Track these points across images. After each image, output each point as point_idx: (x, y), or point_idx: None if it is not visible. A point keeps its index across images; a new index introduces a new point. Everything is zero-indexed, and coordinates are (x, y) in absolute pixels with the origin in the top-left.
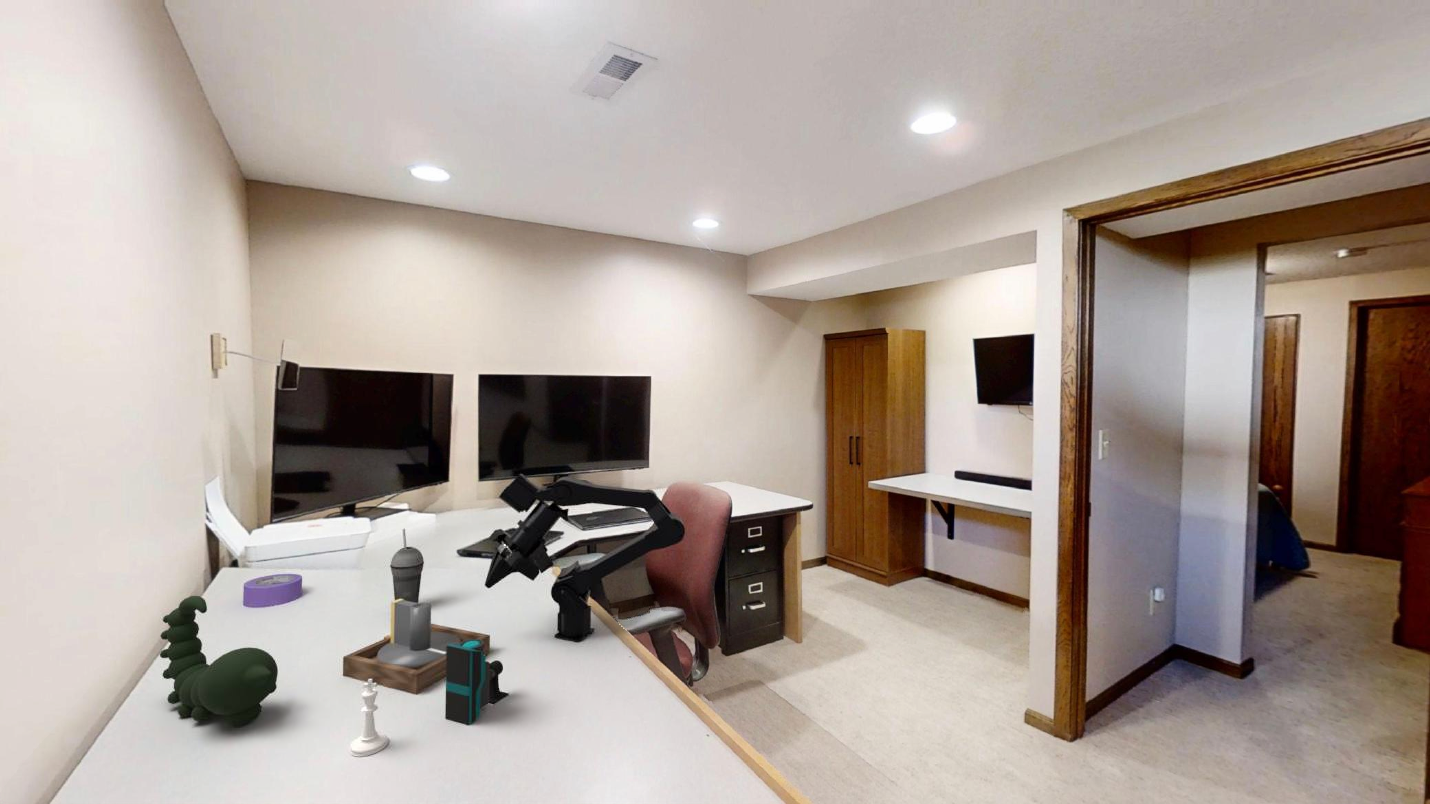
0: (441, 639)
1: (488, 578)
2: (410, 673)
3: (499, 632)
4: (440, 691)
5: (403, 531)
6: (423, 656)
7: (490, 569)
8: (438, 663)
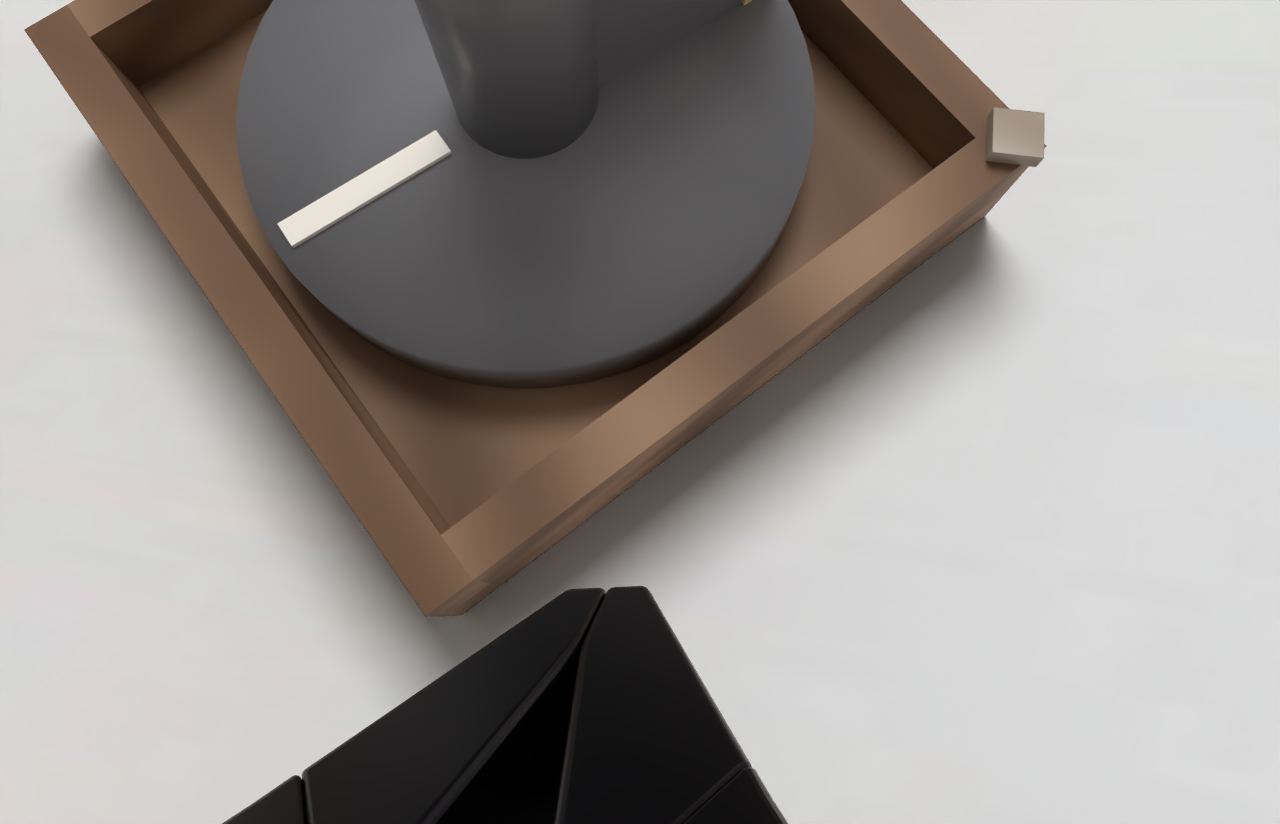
0: (593, 241)
1: (512, 652)
2: (79, 3)
3: (844, 780)
4: (62, 231)
5: None
6: (332, 99)
7: (595, 761)
8: (121, 168)
